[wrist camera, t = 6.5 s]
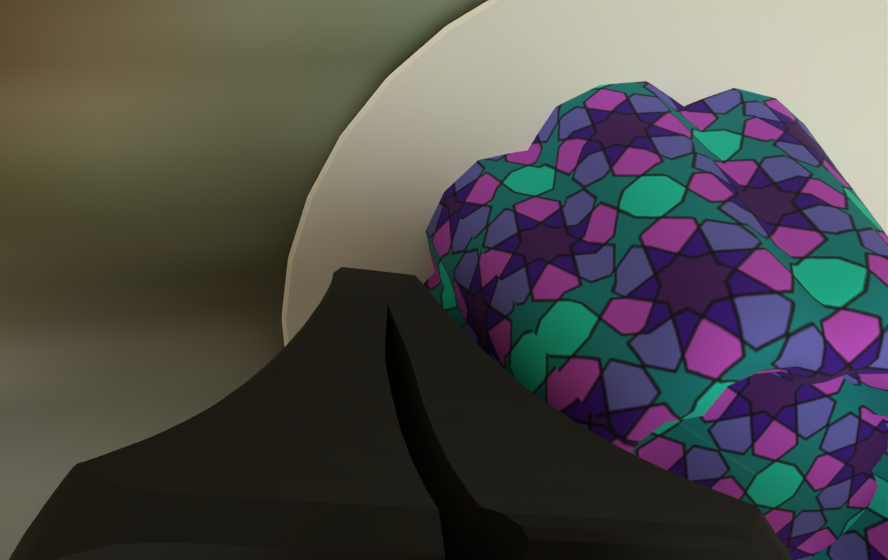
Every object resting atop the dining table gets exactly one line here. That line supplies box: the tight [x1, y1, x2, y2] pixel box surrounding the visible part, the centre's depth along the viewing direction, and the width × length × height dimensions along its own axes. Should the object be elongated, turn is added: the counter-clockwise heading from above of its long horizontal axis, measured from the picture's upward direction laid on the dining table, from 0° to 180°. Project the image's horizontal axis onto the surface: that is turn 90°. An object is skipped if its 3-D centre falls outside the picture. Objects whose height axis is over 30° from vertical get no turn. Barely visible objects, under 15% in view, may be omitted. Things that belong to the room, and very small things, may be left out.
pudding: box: [282, 0, 888, 560], centre depth 11 cm, size 12×12×5 cm
